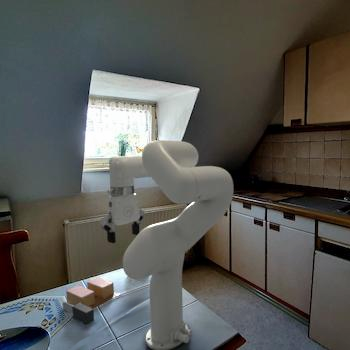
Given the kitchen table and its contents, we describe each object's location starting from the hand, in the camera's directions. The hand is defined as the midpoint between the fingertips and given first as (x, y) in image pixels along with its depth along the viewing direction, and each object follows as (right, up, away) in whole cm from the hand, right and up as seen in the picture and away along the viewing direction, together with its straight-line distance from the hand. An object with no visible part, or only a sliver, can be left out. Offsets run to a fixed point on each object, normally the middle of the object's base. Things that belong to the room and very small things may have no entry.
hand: (124, 238), depth 93 cm
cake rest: (-15, -25, +11) cm, 30 cm away
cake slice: (-18, -25, +4) cm, 31 cm away
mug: (-7, -25, +25) cm, 36 cm away
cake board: (-15, -26, +8) cm, 31 cm away
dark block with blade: (-15, -27, -4) cm, 31 cm away
